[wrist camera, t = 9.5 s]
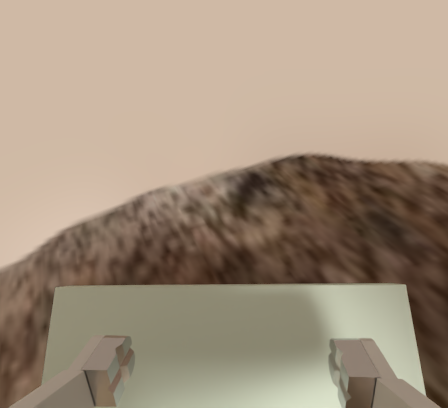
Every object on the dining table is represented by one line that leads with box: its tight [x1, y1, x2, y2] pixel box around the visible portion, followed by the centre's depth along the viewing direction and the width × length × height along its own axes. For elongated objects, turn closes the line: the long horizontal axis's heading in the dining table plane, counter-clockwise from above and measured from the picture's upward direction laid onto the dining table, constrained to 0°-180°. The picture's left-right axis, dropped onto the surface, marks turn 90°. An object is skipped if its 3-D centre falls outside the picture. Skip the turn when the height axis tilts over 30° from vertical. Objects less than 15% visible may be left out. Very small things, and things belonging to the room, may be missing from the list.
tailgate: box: [41, 283, 426, 408], centre depth 13 cm, size 19×2×10 cm
